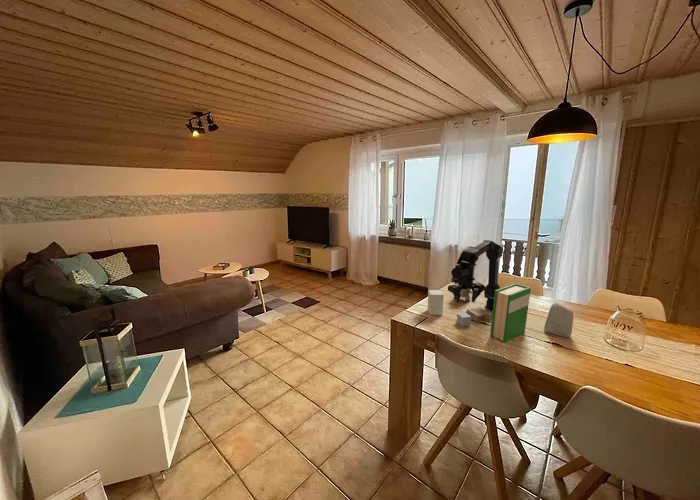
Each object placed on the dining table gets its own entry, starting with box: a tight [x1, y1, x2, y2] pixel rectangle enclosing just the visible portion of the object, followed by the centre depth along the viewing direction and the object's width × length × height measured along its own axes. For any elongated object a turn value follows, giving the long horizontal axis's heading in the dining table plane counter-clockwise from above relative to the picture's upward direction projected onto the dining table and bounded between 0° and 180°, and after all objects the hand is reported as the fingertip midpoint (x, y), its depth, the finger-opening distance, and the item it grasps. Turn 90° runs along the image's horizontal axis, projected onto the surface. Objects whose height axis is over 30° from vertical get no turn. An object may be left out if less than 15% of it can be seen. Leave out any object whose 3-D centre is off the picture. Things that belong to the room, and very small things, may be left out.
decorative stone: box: [543, 302, 574, 339], centre depth 139 cm, size 11×6×15 cm, turn 39°
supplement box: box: [427, 289, 445, 316], centre depth 164 cm, size 7×7×13 cm
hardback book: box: [489, 282, 532, 344], centre depth 137 cm, size 18×7×24 cm, turn 122°
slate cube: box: [456, 312, 472, 327], centre depth 151 cm, size 5×5×5 cm
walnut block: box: [465, 307, 492, 323], centre depth 158 cm, size 9×9×4 cm
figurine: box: [453, 284, 472, 303], centre depth 182 cm, size 9×12×15 cm
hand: (465, 303), depth 149 cm, fingers open, 9 cm apart
